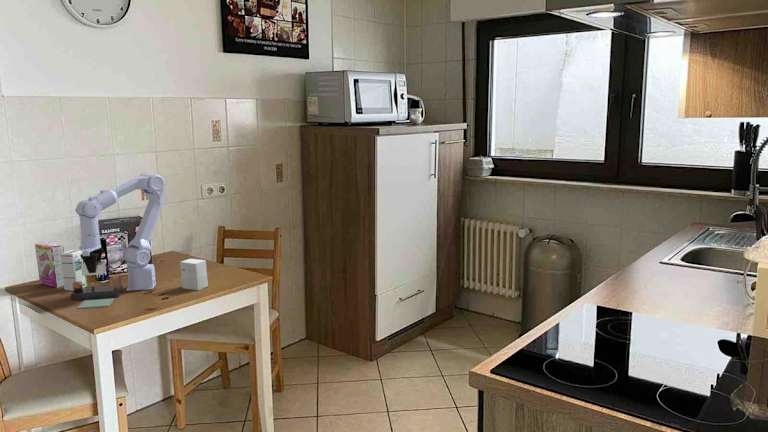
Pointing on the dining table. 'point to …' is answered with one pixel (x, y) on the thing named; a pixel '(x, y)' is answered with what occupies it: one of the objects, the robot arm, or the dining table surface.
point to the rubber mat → (95, 303)
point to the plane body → (97, 290)
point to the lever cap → (99, 269)
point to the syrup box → (72, 269)
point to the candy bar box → (49, 264)
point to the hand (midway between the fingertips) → (94, 271)
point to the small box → (194, 274)
